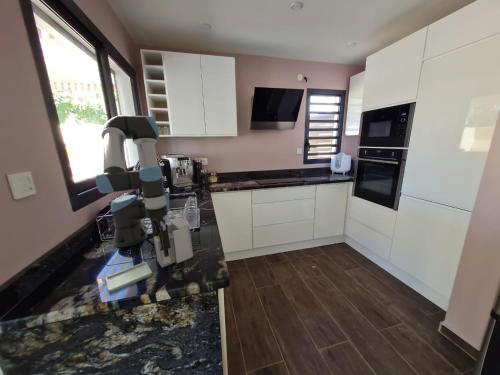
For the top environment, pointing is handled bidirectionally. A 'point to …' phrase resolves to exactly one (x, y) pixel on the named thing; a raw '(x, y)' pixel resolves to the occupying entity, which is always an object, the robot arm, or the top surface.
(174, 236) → the printer bay
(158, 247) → the upright pale grey block
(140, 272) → the tray
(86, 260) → the top surface
